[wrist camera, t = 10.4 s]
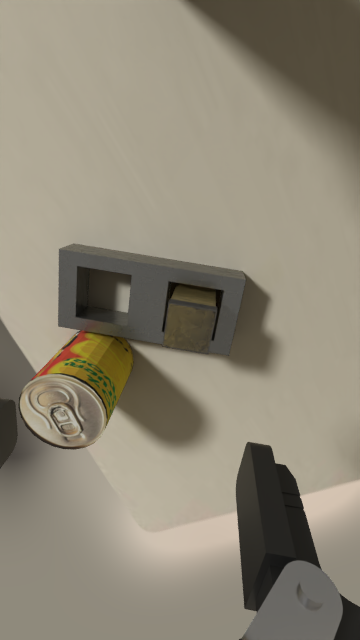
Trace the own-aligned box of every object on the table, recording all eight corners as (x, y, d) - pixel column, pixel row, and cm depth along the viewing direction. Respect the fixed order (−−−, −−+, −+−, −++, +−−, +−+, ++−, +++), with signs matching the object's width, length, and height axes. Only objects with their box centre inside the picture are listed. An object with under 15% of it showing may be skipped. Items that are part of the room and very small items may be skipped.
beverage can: (113, 316, 42) (77, 361, 31) (145, 374, 44) (122, 435, 33) (54, 340, 44) (0, 391, 33) (88, 394, 46) (49, 458, 35)
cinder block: (73, 243, 39) (59, 249, 35) (242, 271, 38) (245, 279, 34) (71, 314, 42) (58, 326, 38) (227, 341, 41) (228, 355, 38)
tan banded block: (177, 279, 39) (168, 302, 31) (216, 285, 39) (217, 311, 31) (172, 314, 41) (162, 346, 33) (209, 321, 41) (208, 354, 32)
